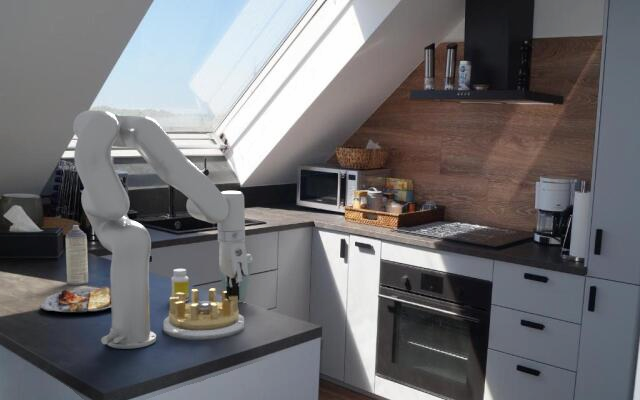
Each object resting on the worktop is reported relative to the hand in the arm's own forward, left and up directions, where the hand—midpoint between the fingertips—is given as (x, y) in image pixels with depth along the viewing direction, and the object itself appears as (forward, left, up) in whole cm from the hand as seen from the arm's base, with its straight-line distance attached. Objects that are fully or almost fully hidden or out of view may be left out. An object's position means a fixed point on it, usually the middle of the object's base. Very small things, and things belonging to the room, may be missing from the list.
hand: (233, 299), depth 202 cm
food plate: (-1, +51, -7) cm, 51 cm away
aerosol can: (+20, +71, -7) cm, 74 cm away
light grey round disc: (-6, +6, -7) cm, 11 cm away
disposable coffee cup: (+22, +11, -7) cm, 25 cm away
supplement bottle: (+15, +27, -7) cm, 31 cm away
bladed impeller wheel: (-6, +6, -5) cm, 10 cm away
